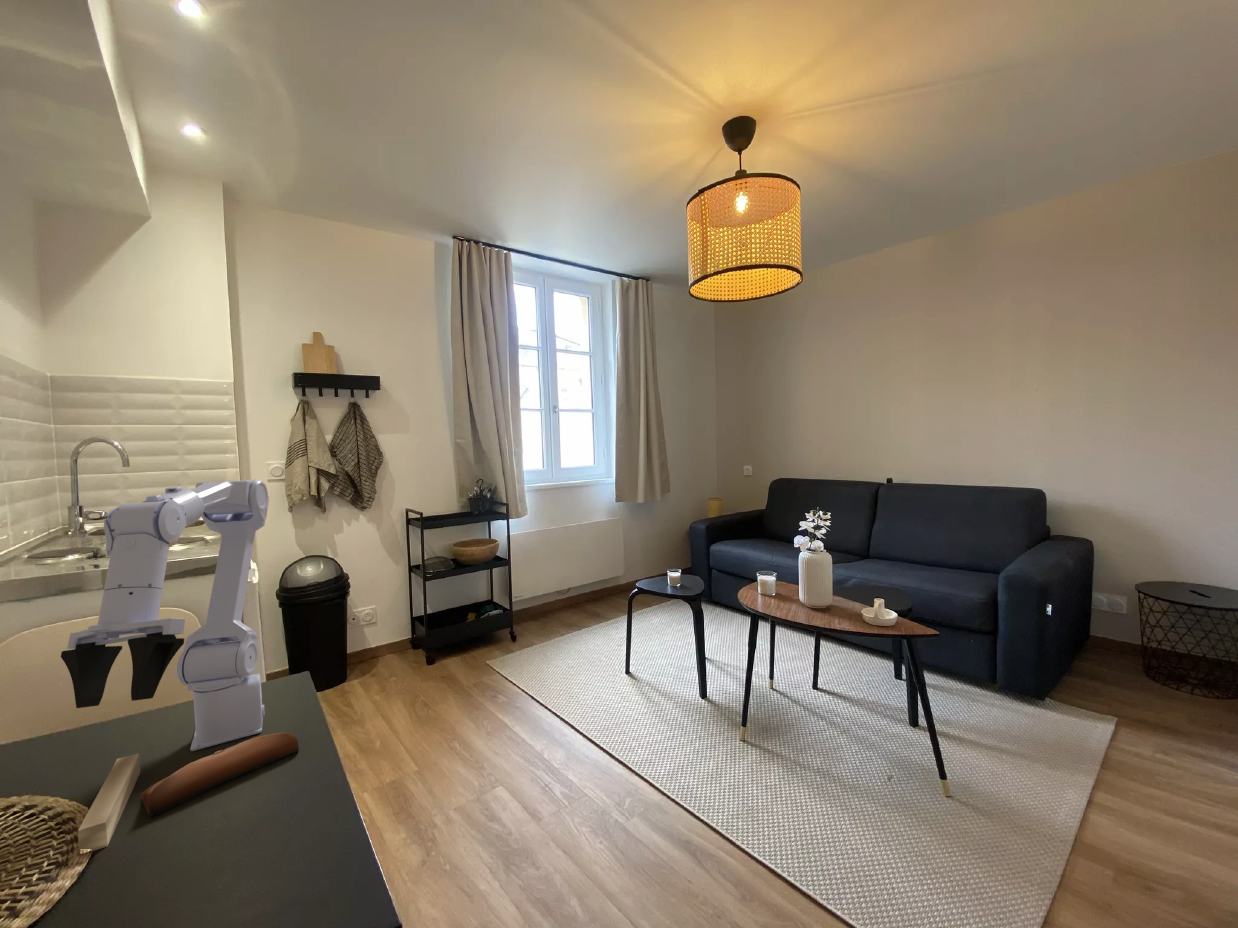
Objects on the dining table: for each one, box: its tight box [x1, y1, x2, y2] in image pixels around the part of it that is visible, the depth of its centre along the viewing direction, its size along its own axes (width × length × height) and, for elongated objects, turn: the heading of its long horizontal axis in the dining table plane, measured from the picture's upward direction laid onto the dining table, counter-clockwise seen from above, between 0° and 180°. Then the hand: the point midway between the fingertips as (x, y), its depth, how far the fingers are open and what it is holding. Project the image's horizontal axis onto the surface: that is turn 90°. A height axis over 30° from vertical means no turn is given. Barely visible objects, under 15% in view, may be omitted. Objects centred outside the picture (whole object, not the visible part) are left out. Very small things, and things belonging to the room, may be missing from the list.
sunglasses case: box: [138, 731, 300, 820], centre depth 77 cm, size 18×7×7 cm, turn 143°
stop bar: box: [77, 752, 141, 852], centre depth 70 cm, size 2×18×3 cm, turn 33°
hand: (114, 703), depth 64 cm, fingers open, 7 cm apart
